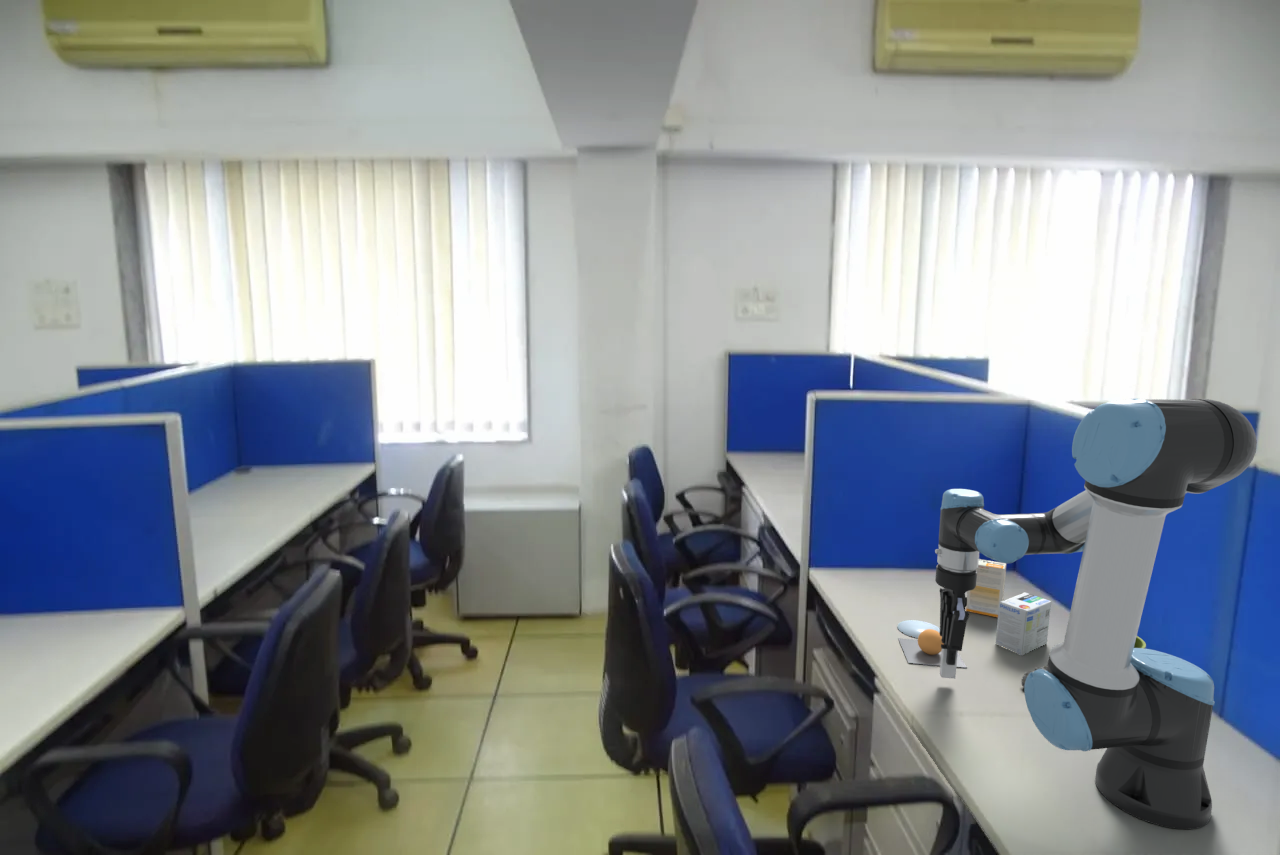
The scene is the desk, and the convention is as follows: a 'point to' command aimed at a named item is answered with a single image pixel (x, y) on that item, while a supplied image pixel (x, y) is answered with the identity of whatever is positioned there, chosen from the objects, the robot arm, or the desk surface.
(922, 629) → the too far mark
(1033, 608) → the light bulb box
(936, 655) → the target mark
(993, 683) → the desk surface
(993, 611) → the supplement box
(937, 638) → the ball
